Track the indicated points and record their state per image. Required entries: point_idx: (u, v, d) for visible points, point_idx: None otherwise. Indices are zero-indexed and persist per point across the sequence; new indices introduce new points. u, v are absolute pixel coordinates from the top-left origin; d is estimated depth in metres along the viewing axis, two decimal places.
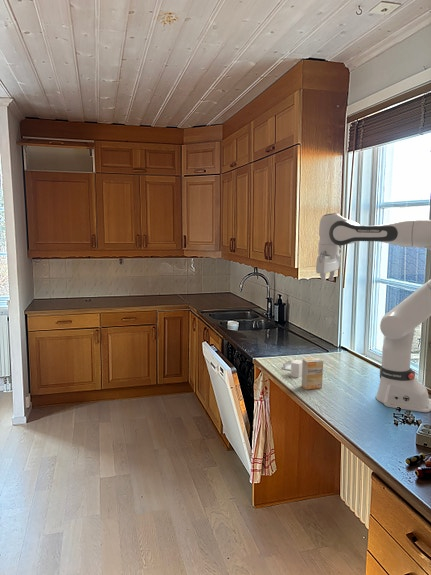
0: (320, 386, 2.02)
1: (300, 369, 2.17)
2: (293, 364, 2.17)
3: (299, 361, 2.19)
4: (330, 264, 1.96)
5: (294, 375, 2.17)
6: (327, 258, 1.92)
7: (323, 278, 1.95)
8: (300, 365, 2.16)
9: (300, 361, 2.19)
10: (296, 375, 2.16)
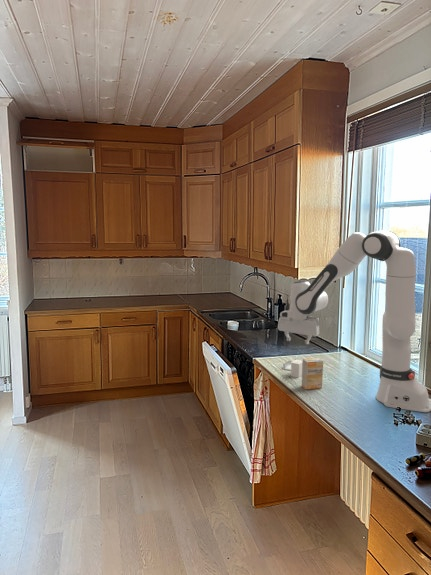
0: (320, 386, 2.02)
1: (300, 369, 2.17)
2: (293, 364, 2.17)
3: (299, 361, 2.19)
4: None
5: (294, 375, 2.17)
6: None
7: (309, 339, 2.14)
8: (300, 364, 2.16)
9: (300, 361, 2.19)
10: (296, 375, 2.16)
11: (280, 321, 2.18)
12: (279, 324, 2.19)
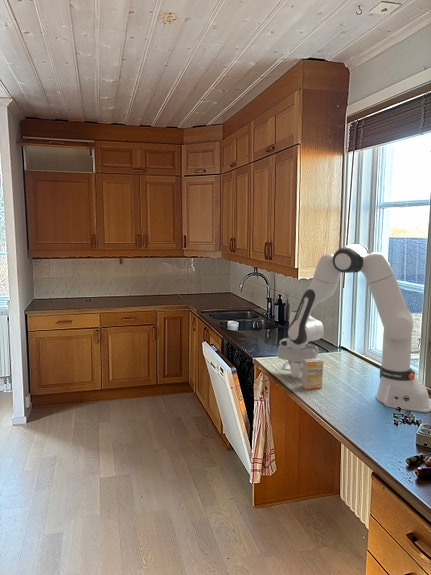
0: (320, 386, 2.02)
1: (300, 369, 2.17)
2: (293, 364, 2.17)
3: None
4: None
5: (294, 375, 2.17)
6: None
7: None
8: (300, 364, 2.16)
9: None
10: (296, 375, 2.16)
11: (280, 349, 2.21)
12: (279, 352, 2.21)
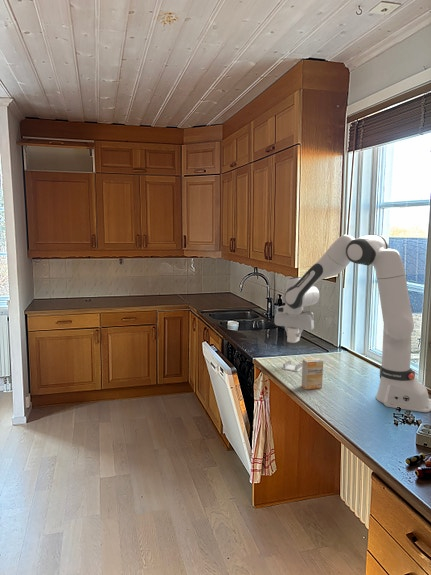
0: (320, 386, 2.02)
1: (296, 334, 2.24)
2: (289, 329, 2.24)
3: None
4: None
5: (290, 340, 2.25)
6: None
7: (300, 332, 2.25)
8: (296, 330, 2.24)
9: None
10: (292, 340, 2.24)
11: (276, 316, 2.28)
12: (276, 319, 2.29)
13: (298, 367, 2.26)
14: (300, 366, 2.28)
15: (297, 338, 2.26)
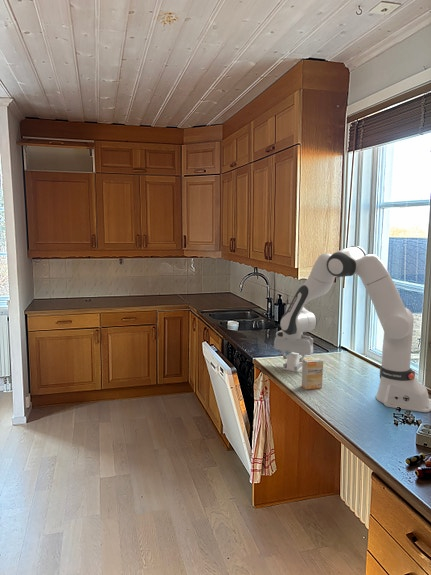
0: (320, 386, 2.02)
1: (295, 361, 2.26)
2: (288, 356, 2.26)
3: (295, 353, 2.29)
4: None
5: (290, 367, 2.27)
6: None
7: (303, 357, 2.26)
8: (295, 357, 2.26)
9: (295, 354, 2.29)
10: (292, 367, 2.26)
11: (276, 340, 2.30)
12: (275, 343, 2.31)
13: (298, 367, 2.26)
14: (300, 366, 2.28)
15: (296, 365, 2.28)
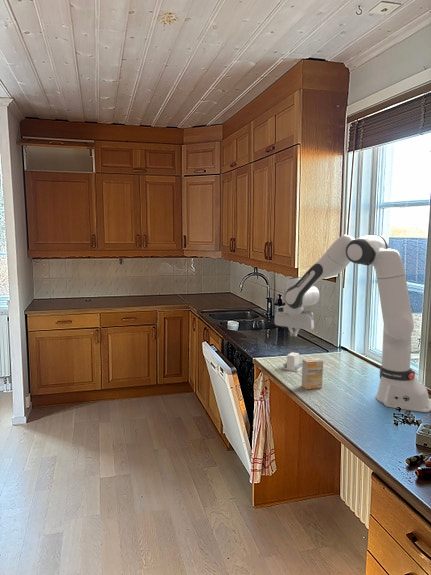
0: (320, 386, 2.02)
1: (295, 361, 2.26)
2: (288, 356, 2.26)
3: (295, 353, 2.29)
4: None
5: (290, 367, 2.27)
6: None
7: None
8: (295, 357, 2.26)
9: (295, 354, 2.29)
10: (292, 367, 2.26)
11: (276, 316, 2.28)
12: (276, 319, 2.29)
13: (298, 367, 2.26)
14: (300, 366, 2.28)
15: (296, 365, 2.28)
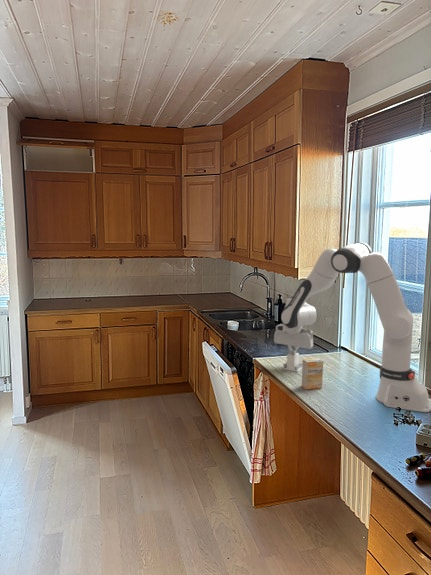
0: (320, 386, 2.02)
1: (295, 361, 2.26)
2: (288, 356, 2.26)
3: None
4: None
5: (290, 367, 2.27)
6: None
7: (296, 350, 2.27)
8: (295, 357, 2.26)
9: None
10: (292, 367, 2.26)
11: (276, 334, 2.30)
12: (275, 337, 2.30)
13: (298, 367, 2.26)
14: (300, 366, 2.28)
15: (296, 364, 2.28)
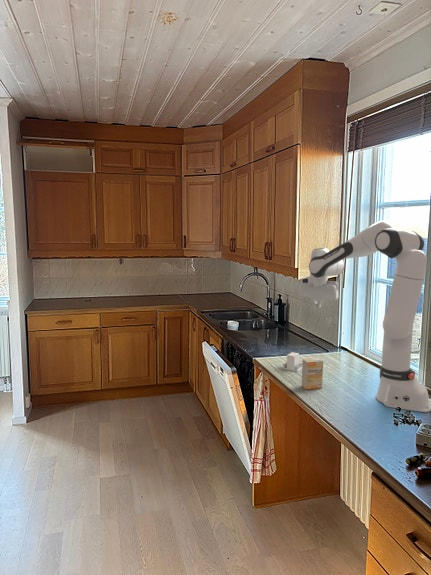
0: (320, 386, 2.02)
1: (295, 361, 2.26)
2: (288, 356, 2.26)
3: (295, 353, 2.29)
4: None
5: (290, 367, 2.27)
6: None
7: (321, 303, 2.28)
8: (295, 357, 2.26)
9: (295, 354, 2.29)
10: (292, 367, 2.26)
11: (301, 287, 2.31)
12: (300, 290, 2.31)
13: (298, 367, 2.26)
14: (300, 366, 2.28)
15: (296, 365, 2.28)
